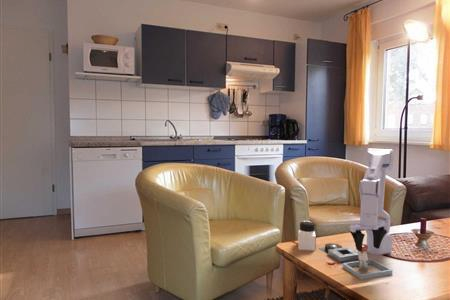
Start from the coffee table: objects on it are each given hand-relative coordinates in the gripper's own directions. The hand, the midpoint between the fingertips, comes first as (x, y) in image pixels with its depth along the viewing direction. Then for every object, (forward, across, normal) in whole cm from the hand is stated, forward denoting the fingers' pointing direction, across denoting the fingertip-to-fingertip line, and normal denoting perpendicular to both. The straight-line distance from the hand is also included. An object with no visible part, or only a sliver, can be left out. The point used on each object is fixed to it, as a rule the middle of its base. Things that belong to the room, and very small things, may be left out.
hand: (367, 249), depth 122 cm
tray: (+9, 0, 0) cm, 9 cm away
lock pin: (+8, 0, +1) cm, 8 cm away
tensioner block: (+9, 0, +16) cm, 18 cm away
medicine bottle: (+9, -9, +27) cm, 30 cm away
